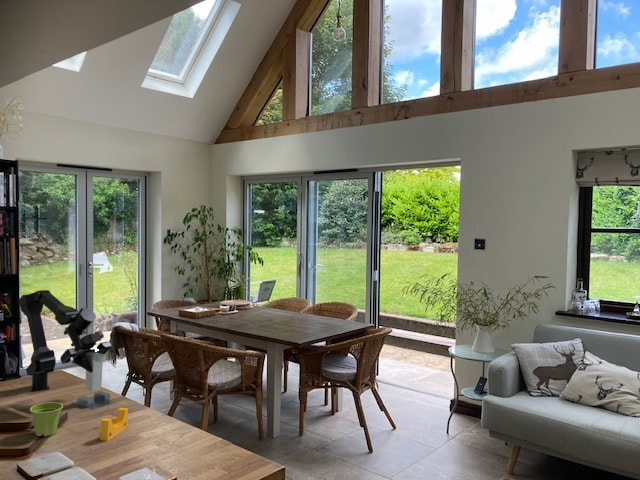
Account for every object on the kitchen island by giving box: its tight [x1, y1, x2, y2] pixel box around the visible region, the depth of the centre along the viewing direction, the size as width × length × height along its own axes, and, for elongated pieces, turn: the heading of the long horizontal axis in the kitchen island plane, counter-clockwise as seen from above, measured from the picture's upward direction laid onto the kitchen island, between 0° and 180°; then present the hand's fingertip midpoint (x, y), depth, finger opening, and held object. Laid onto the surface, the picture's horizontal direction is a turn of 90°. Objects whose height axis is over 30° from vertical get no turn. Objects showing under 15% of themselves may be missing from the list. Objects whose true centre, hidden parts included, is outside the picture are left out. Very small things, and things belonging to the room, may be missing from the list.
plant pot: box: [29, 401, 64, 438], centre depth 163 cm, size 9×9×9 cm
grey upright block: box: [84, 353, 107, 392], centre depth 189 cm, size 7×4×13 cm, turn 61°
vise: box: [71, 390, 116, 411], centre depth 190 cm, size 12×10×4 cm
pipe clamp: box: [99, 407, 129, 442], centre depth 166 cm, size 12×4×6 cm, turn 172°
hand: (96, 370), depth 189 cm, fingers closed on grey upright block, 4 cm apart
